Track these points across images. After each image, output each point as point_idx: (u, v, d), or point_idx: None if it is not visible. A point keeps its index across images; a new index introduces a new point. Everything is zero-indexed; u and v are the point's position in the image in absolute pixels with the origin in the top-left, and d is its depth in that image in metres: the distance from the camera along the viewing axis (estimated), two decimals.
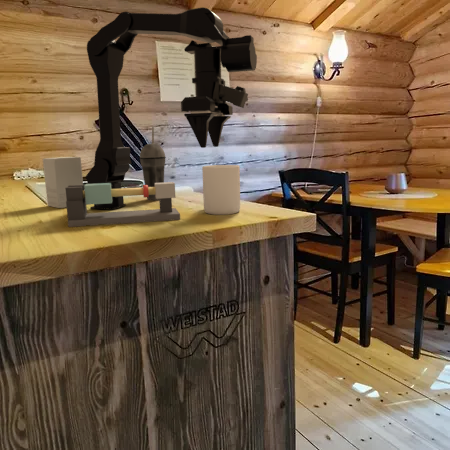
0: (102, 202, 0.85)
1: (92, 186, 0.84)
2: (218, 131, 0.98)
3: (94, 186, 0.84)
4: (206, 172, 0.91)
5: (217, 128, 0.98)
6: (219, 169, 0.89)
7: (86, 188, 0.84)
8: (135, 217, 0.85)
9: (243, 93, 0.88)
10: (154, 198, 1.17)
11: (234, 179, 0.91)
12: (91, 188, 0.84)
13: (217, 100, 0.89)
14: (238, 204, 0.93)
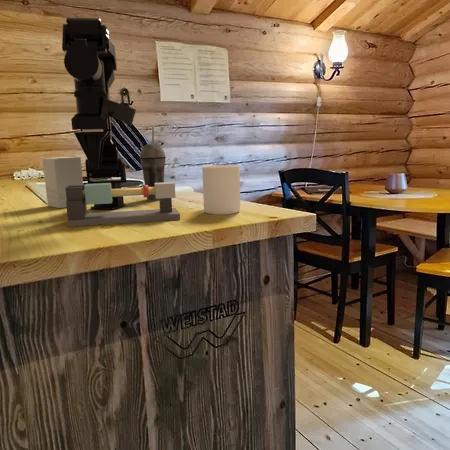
0: (102, 202, 0.85)
1: (92, 186, 0.84)
2: (99, 149, 0.89)
3: (94, 186, 0.84)
4: (206, 172, 0.91)
5: None
6: (219, 169, 0.89)
7: (86, 188, 0.84)
8: (135, 217, 0.85)
9: (135, 110, 0.83)
10: (154, 198, 1.17)
11: (234, 179, 0.91)
12: (91, 188, 0.84)
13: (107, 117, 0.81)
14: (238, 204, 0.93)
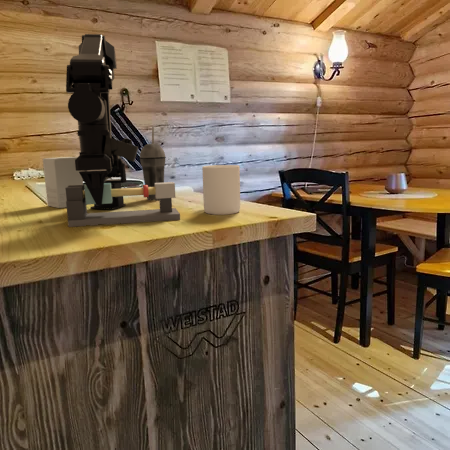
0: (102, 202, 0.85)
1: None
2: None
3: None
4: (206, 172, 0.91)
5: None
6: (219, 169, 0.89)
7: (86, 188, 0.84)
8: (135, 217, 0.85)
9: (137, 148, 0.84)
10: (154, 198, 1.17)
11: (234, 179, 0.91)
12: None
13: (109, 155, 0.83)
14: (238, 204, 0.93)
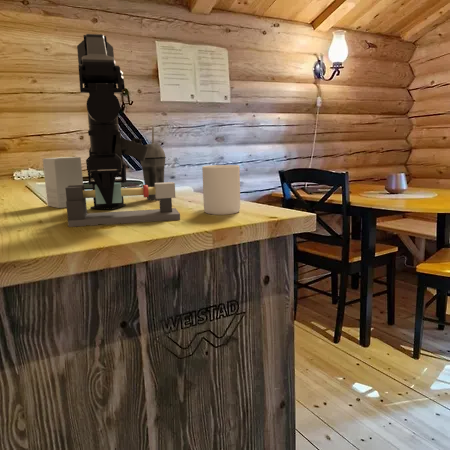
0: (112, 201, 0.85)
1: None
2: None
3: None
4: (206, 172, 0.91)
5: None
6: (219, 169, 0.89)
7: (96, 188, 0.84)
8: (135, 217, 0.85)
9: (147, 147, 0.85)
10: (154, 198, 1.17)
11: (234, 179, 0.91)
12: None
13: (120, 155, 0.83)
14: (238, 204, 0.93)
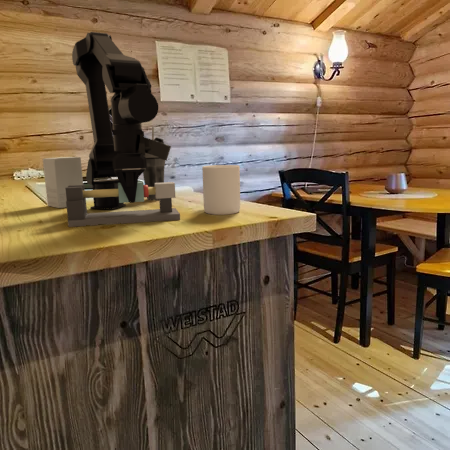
0: (135, 200, 0.86)
1: None
2: None
3: None
4: (206, 172, 0.91)
5: None
6: (219, 169, 0.89)
7: (119, 186, 0.85)
8: (135, 217, 0.85)
9: (170, 147, 0.86)
10: (154, 198, 1.17)
11: (234, 179, 0.91)
12: None
13: (143, 154, 0.84)
14: (238, 204, 0.93)
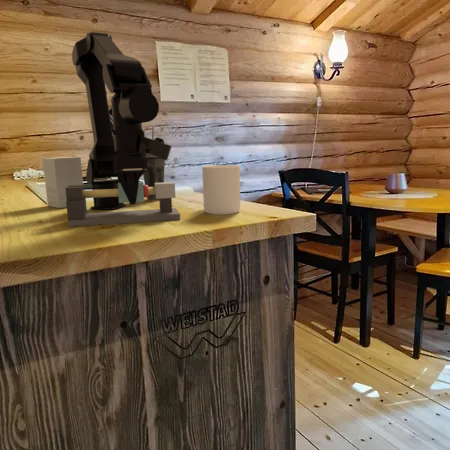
0: None
1: None
2: None
3: None
4: (206, 172, 0.91)
5: None
6: (219, 169, 0.89)
7: (119, 186, 0.85)
8: (135, 217, 0.85)
9: (170, 147, 0.86)
10: (154, 198, 1.17)
11: (234, 179, 0.91)
12: None
13: (144, 154, 0.84)
14: (238, 204, 0.93)
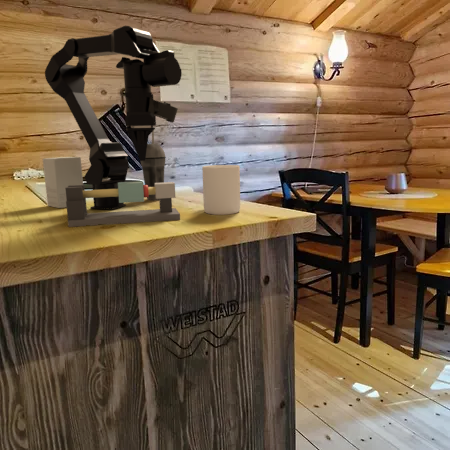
0: (135, 200, 0.86)
1: (125, 184, 0.85)
2: None
3: (127, 184, 0.85)
4: (206, 172, 0.91)
5: None
6: (219, 169, 0.89)
7: (119, 186, 0.85)
8: (135, 217, 0.85)
9: (176, 109, 0.94)
10: (154, 198, 1.17)
11: (234, 179, 0.91)
12: (124, 186, 0.85)
13: None
14: (238, 204, 0.93)
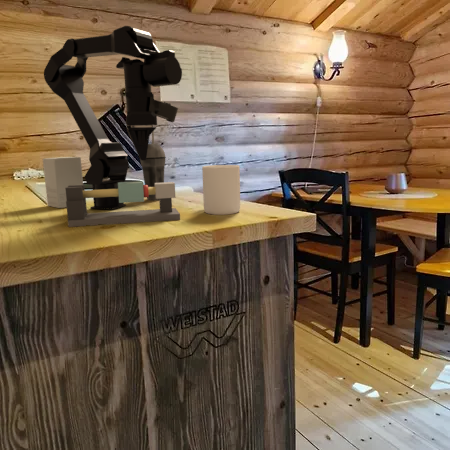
0: (135, 200, 0.86)
1: (125, 184, 0.85)
2: None
3: (127, 184, 0.85)
4: (206, 172, 0.91)
5: None
6: (219, 169, 0.89)
7: (119, 186, 0.85)
8: (135, 217, 0.85)
9: (177, 109, 0.94)
10: (154, 198, 1.17)
11: (234, 179, 0.91)
12: (124, 186, 0.85)
13: None
14: (238, 204, 0.93)
